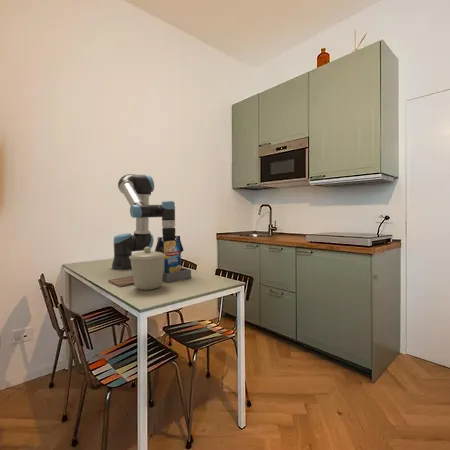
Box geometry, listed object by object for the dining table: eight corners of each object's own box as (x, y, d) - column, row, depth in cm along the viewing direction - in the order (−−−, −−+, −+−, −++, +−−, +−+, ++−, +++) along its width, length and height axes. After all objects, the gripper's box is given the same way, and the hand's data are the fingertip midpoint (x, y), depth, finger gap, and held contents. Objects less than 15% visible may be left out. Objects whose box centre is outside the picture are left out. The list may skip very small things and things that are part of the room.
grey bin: (149, 277, 173) (149, 268, 173) (172, 272, 184) (172, 265, 183) (166, 283, 158) (166, 274, 158) (191, 278, 169) (190, 269, 169)
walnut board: (108, 281, 163) (108, 280, 163) (132, 277, 172) (132, 276, 172) (119, 287, 151) (119, 285, 151) (144, 282, 160) (144, 280, 160)
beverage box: (158, 278, 170) (157, 240, 169) (174, 275, 177) (174, 239, 176) (164, 280, 165) (163, 241, 163) (181, 277, 172) (180, 239, 171)
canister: (143, 294, 137) (142, 250, 136) (123, 288, 149) (121, 247, 148) (173, 286, 151) (172, 246, 150) (152, 281, 162) (151, 243, 161)
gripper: (153, 228, 159) (154, 268, 160) (189, 226, 174) (189, 263, 175) (147, 228, 164) (148, 266, 165) (182, 226, 180) (182, 261, 181)
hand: (169, 264), depth 170 cm, fingers closed on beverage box, 11 cm apart
